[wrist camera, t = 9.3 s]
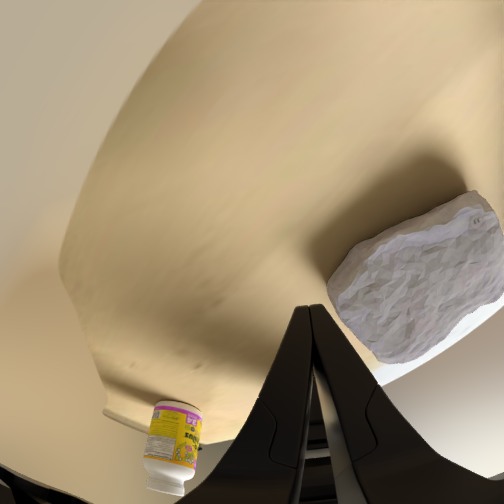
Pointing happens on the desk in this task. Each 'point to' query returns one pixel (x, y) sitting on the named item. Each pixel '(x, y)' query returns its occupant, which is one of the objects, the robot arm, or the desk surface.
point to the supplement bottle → (172, 446)
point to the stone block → (420, 278)
